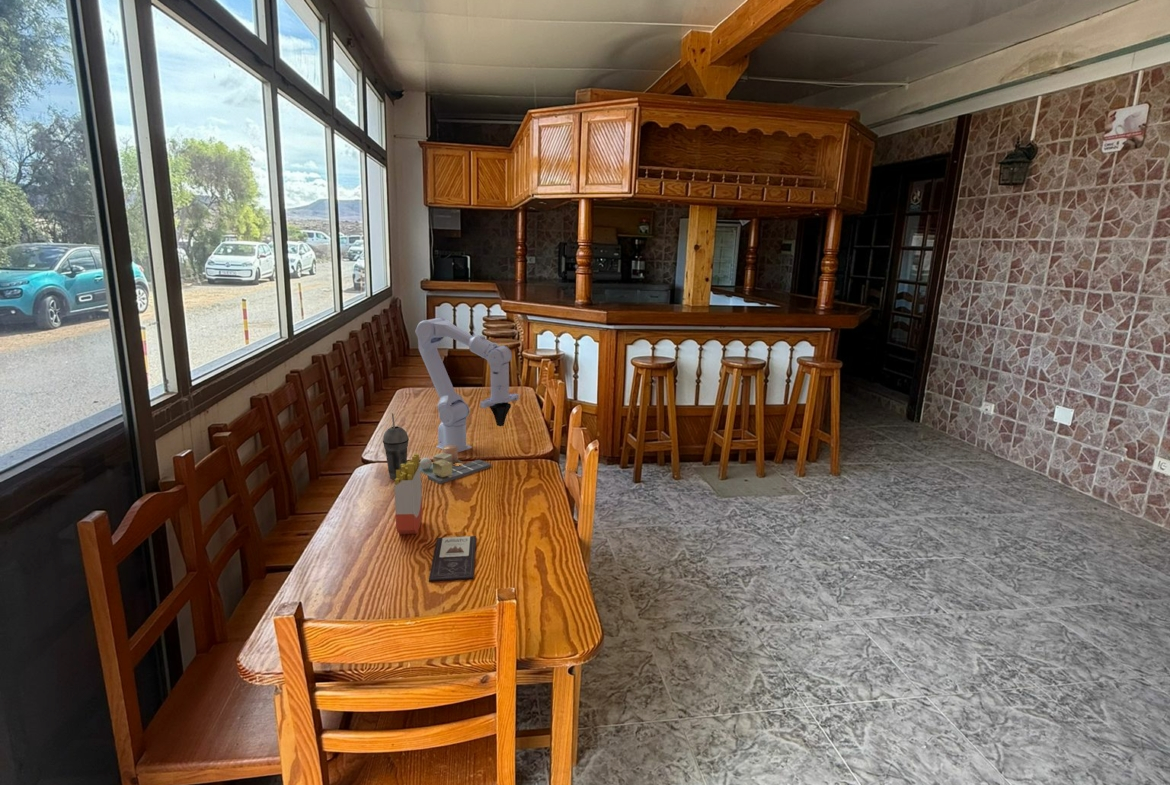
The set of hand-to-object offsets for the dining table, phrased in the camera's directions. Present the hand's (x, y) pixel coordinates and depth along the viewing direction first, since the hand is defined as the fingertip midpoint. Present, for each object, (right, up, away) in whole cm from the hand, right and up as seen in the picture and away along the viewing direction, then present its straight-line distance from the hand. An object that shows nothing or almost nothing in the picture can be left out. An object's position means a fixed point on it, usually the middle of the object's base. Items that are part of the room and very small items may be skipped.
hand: (500, 425), depth 194 cm
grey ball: (-21, -13, -11) cm, 27 cm away
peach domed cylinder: (-15, -11, -5) cm, 19 cm away
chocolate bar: (-2, -27, -61) cm, 67 cm away
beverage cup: (-28, -15, -17) cm, 36 cm away
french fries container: (-15, -23, -48) cm, 55 cm away
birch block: (-16, -12, -10) cm, 23 cm away
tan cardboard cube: (-14, -13, -18) cm, 27 cm away
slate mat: (-17, -12, -9) cm, 23 cm away
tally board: (-10, -14, -13) cm, 21 cm away
